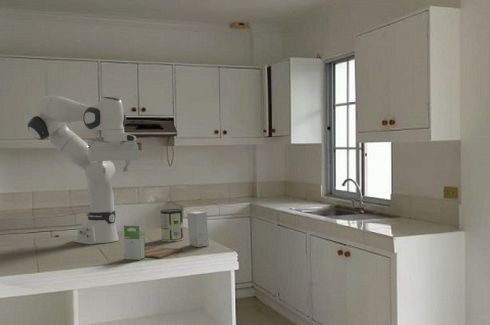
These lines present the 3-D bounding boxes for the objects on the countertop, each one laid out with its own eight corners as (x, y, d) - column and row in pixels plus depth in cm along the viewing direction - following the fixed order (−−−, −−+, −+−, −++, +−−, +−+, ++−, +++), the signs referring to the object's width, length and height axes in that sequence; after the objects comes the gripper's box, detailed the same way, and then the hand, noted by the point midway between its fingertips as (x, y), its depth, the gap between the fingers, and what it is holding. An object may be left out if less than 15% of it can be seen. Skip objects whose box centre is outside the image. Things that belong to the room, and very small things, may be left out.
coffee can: (171, 237, 257) (170, 208, 257) (187, 238, 252) (186, 209, 251) (156, 240, 248) (155, 210, 248) (173, 242, 243) (172, 211, 242)
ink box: (145, 258, 209) (144, 224, 209) (140, 260, 205) (138, 225, 205) (129, 257, 211) (128, 224, 211) (124, 259, 207) (123, 225, 207)
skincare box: (209, 245, 232) (208, 212, 231) (196, 247, 228) (195, 213, 228) (199, 243, 239) (198, 210, 238) (187, 245, 235) (186, 211, 235)
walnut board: (124, 255, 216) (124, 253, 216) (149, 248, 230) (149, 246, 230) (159, 258, 208) (159, 256, 208) (183, 251, 222) (183, 249, 221)
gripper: (90, 137, 202) (91, 173, 203) (139, 136, 215) (141, 170, 215) (84, 138, 208) (86, 173, 208) (133, 137, 220) (134, 170, 220)
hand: (114, 172), depth 212 cm, fingers open, 8 cm apart
